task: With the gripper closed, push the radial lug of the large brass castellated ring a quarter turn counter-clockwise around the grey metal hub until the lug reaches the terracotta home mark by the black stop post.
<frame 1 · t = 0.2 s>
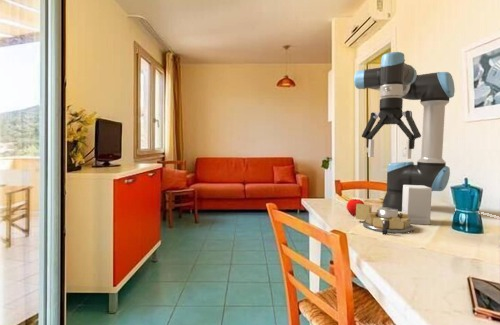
hand: (388, 157, 118), 27 cm above the table, fingers open, 13 cm apart
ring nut: (381, 215, 129), point 4 cm above the table, hinge at 0.0°
supplement box: (415, 222, 137), on the table
apple: (355, 215, 147), on the table
hub base: (387, 226, 128), on the table
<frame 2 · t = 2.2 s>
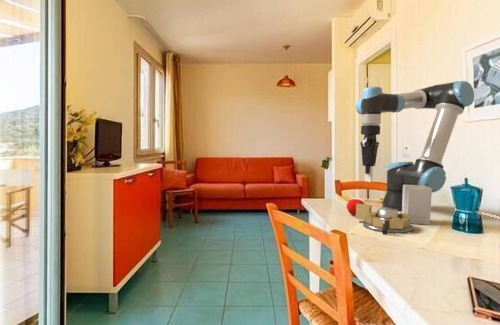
hand: (368, 181, 138), 16 cm above the table, fingers closed
nothing on the table moved.
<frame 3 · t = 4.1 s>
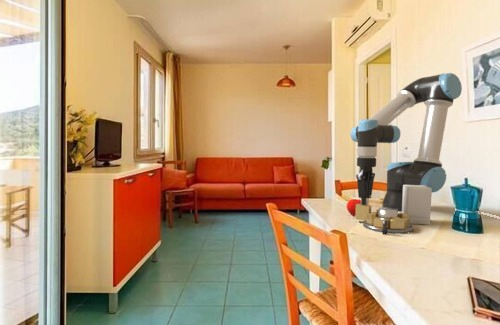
hand: (364, 213, 137), 3 cm above the table, fingers closed
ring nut: (381, 215, 129), point 4 cm above the table, hinge at 2.4°, touching gripper
everything else where it was.
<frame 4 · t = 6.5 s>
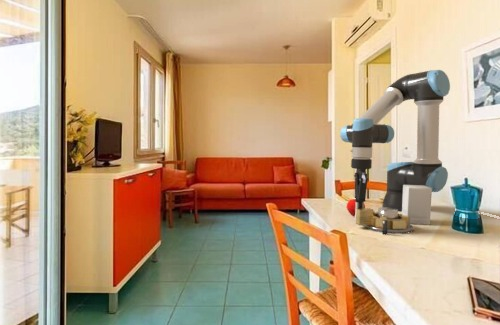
hand: (359, 217, 129), 3 cm above the table, fingers closed
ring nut: (381, 216, 127), point 4 cm above the table, hinge at 53.6°, touching gripper
everything else where it was.
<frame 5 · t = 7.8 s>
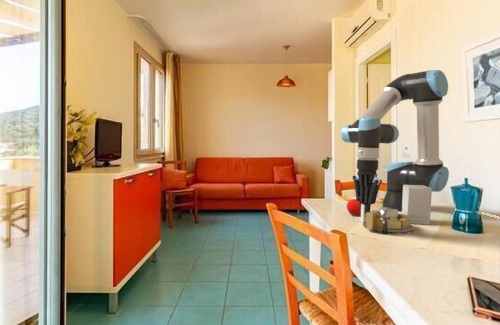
hand: (364, 221, 124), 3 cm above the table, fingers closed
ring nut: (384, 216, 126), point 4 cm above the table, hinge at 81.5°, touching gripper
everything else where it was.
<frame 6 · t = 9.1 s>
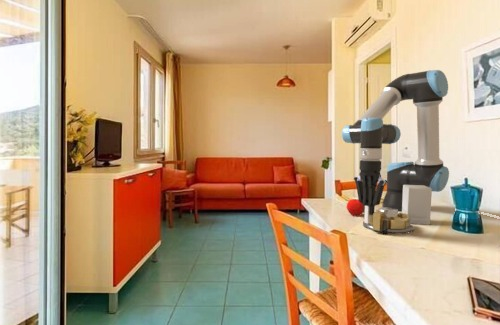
hand: (368, 222, 123), 3 cm above the table, fingers closed
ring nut: (385, 217, 126), point 4 cm above the table, hinge at 93.7°
everything else where it was.
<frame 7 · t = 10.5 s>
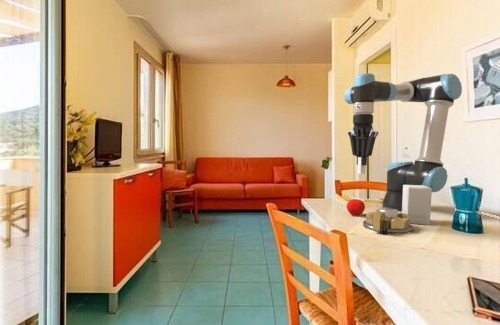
hand: (361, 173, 131), 20 cm above the table, fingers closed
nothing on the table moved.
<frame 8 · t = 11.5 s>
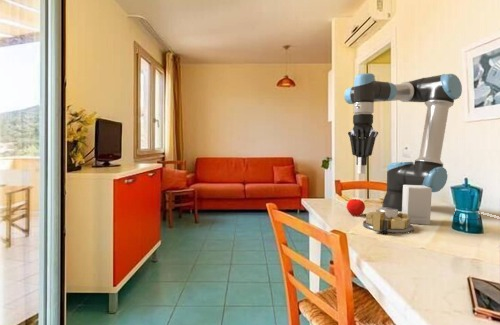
hand: (361, 173, 131), 20 cm above the table, fingers closed
nothing on the table moved.
at the end: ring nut at +94° (first picture: +0°); the gripper is holding nothing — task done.
